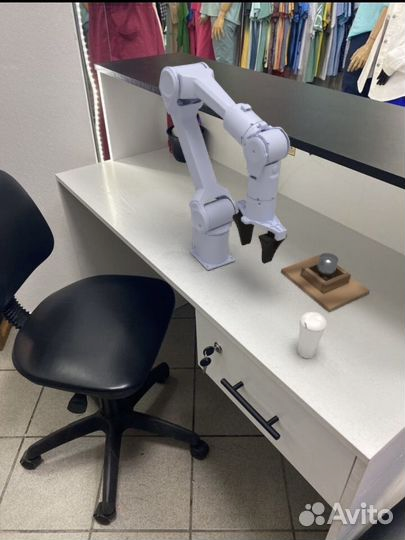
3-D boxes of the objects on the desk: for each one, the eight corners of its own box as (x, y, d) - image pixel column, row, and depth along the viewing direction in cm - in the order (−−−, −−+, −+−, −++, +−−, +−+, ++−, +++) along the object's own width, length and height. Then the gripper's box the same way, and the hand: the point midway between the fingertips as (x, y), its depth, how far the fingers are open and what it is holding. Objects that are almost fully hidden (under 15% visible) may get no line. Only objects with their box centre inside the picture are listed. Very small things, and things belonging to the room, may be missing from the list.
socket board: (280, 272, 93) (282, 260, 91) (318, 258, 98) (320, 246, 95) (328, 312, 82) (332, 299, 80) (368, 294, 87) (372, 281, 84)
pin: (311, 278, 89) (315, 257, 86) (322, 272, 91) (327, 251, 88) (325, 287, 87) (330, 265, 83) (336, 280, 89) (342, 259, 85)
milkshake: (286, 354, 73) (293, 315, 67) (302, 339, 76) (311, 301, 70) (307, 368, 70) (316, 329, 64) (322, 352, 73) (333, 313, 67)
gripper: (224, 184, 78) (222, 241, 86) (268, 215, 68) (261, 276, 76) (252, 177, 81) (248, 233, 89) (299, 206, 71) (289, 265, 79)
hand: (255, 252), depth 83 cm, fingers open, 7 cm apart
